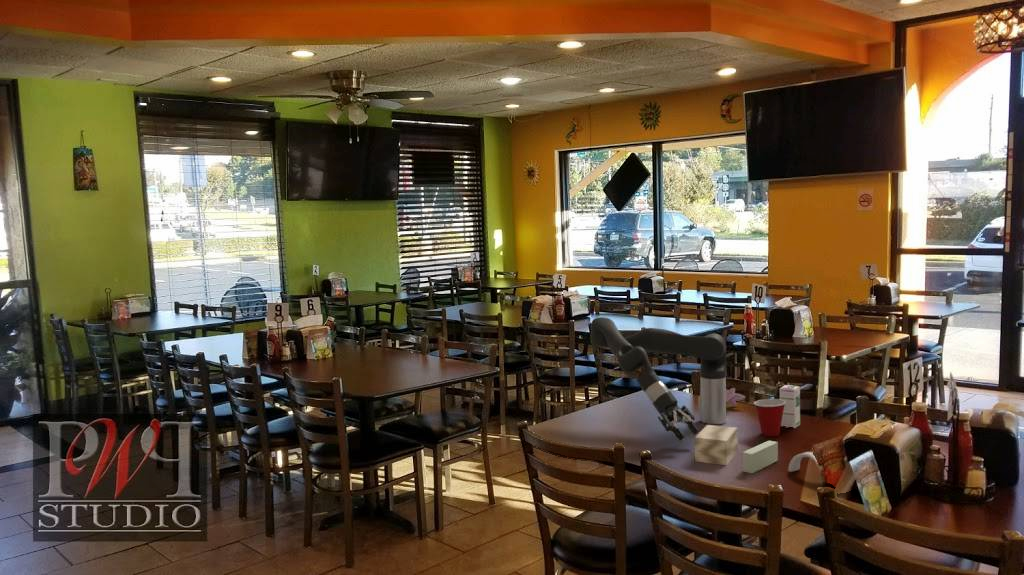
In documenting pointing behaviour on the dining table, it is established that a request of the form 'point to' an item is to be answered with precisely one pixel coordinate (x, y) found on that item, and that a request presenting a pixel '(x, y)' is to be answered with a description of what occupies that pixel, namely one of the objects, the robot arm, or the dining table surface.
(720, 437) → the birch block
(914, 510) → the dining table surface
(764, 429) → the plastic cup
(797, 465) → the white arch
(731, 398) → the lily
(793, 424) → the syrup box
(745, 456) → the sage board
